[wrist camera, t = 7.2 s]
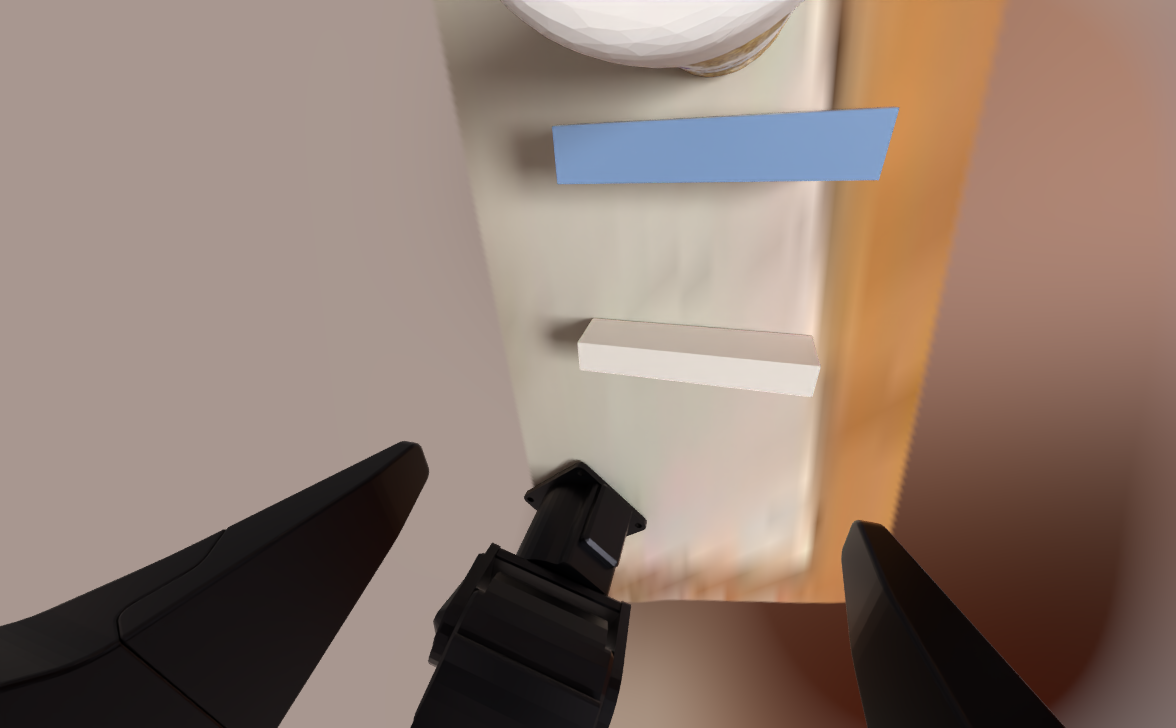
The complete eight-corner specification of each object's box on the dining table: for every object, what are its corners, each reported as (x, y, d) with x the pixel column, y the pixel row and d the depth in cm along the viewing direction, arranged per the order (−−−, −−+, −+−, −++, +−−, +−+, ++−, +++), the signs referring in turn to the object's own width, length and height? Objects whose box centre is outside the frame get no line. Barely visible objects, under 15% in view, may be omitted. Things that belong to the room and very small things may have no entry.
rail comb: (805, 364, 19) (814, 406, 17) (594, 343, 22) (575, 376, 20) (988, -355, 9) (1078, -517, 7) (558, -225, 12) (510, -304, 10)
